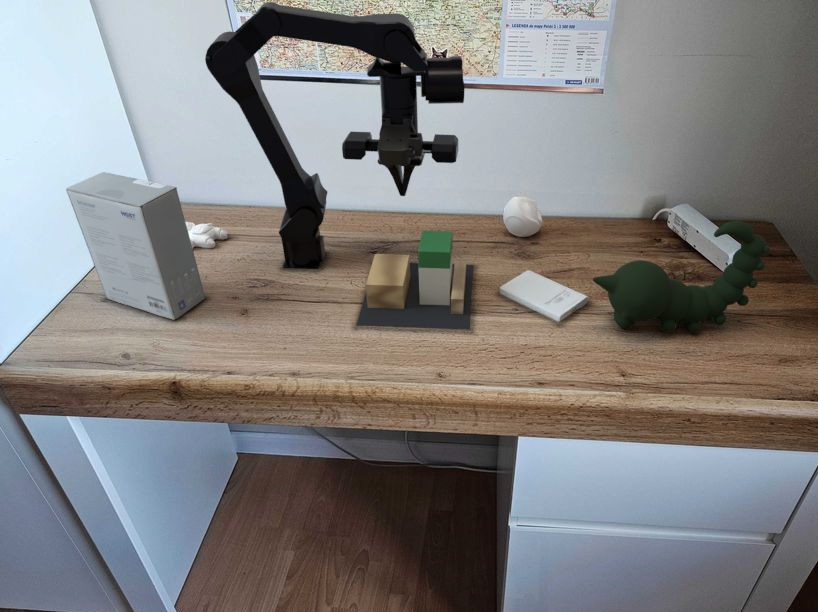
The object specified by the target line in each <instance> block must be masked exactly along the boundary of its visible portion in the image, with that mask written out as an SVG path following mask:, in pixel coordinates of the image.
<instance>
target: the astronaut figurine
mask: <svg viewBox="0 0 818 612" xmlns="http://www.w3.org/2000/svg"><path fill="white" fill-rule="evenodd" d="M185 222H186V226H187V230H188V234H189V237H190V241H191V245H192V249H193V250H194V247H199V248H204V249H214V248H215V247H216V242H215V240H227V239H228V236H229V235H228V233H227V231H226V230H225V229H223V228H222V227H218V226H215V223H213V222H208V223H199V224H195V223H194V222H190V221H185Z"/></svg>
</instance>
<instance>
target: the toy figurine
mask: <svg viewBox="0 0 818 612" xmlns="http://www.w3.org/2000/svg"><path fill="white" fill-rule="evenodd" d="M725 235H731V236H733V237H735V238H736V239H737V240H739V241H740V242H741V244H740V248H738V249H737V250H736V251H735V252H734V254H733V255H732V258H731V259H732V260H731V263H729V264H728V265H726V267H725V268H724V269H723V272H722V275H720V276H719V277H717V278H716V279H715V280H714V282H713V283H712V284H709V285H705V286H700V285H696V284H689V285H688V284H687V285H686V283H684V282H682V281H680V280H678V279H675V278H670V276H669V274H668V273H667V272H666V271H665V269H663V268H662V267H661V266H660V265H658V264H657V263H654V262H652V261H649V260H643V259H639V260H638V259H637V260H632V261H629V262H627V263H625V264H623V265H621V266H620V267H619V268H617V269H616V271H614V273H613V274H607V275H600V276H594V277H593V278H592V282H594V283H595V284H596V285H598V286H599V287H601V288H602V289H603V290H605V291H606V292H607V296H608V301H609V304H610V306H611V308H612V309H613V310H614V311H613V319H614V321H615V323H616V325H617V326H618V327H619V328H620V329H623V330H627V329H631V328H632V327H633V326H634V325H635V324H636V322H637V323H645V322H649V321H653V320H654V319H655V320H656V321H658V327H659V329H660V330H661V331H662V332H664V333H672V332H673V331H674V330H676V328H677V322H679V323H683V324H686V327H687V330H688V332H689V333H692V334H696V333H698V332H700V330H701V327H702V324H701V322H703V321H705V320H706V319H711V318H712V323H714V325H717V326H723V325H725V324H726V322H727V315H726V314H725V313H724V312H725V311H726V310H727V308H728V306H731V305H734V304H736V303H737V305H738V306H741V307H746V306H747V305H748V304H749V302H750V298H749V297H748V295H746V294H744V292H745V288H747V287H748V288H750V289H755V288H756V287H757V286H758V284H759V281H758V279H756V278H754V272H755V271H762V270H764V269H765V267H766V266H765V265H766V264H765V262H764V261H763V260H762V257H761V256H763V255H767V254H770V251H771V246H769V245H767V241H766V239H765V237H763V236H762V235H760V234H757V233H755V231H754V228H753V226H752V225H751V224H749V223H747V222H745V221H741V220H740V221H739V220H733V221H728V222H726V223H724V224H722V225H720V227H718V228H717V229H716V230H715V231H714V233H713V237H714V238H719V237H721V236H725Z"/></svg>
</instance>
